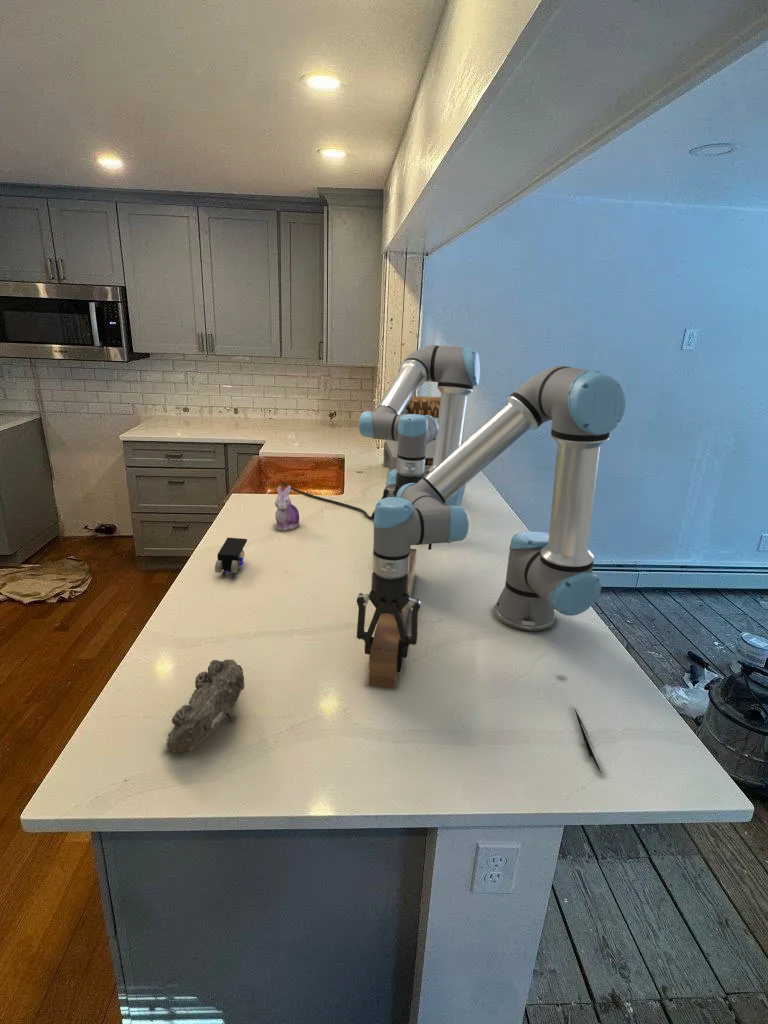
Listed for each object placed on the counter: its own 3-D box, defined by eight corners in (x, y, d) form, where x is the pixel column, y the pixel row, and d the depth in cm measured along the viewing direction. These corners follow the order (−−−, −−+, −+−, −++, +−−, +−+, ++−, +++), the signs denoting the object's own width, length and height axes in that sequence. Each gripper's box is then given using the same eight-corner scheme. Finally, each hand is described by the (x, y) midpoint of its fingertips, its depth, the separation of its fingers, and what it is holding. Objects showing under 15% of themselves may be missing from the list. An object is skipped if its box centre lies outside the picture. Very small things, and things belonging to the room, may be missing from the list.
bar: (396, 573, 170) (397, 547, 167) (414, 575, 169) (416, 548, 166) (368, 685, 119) (370, 649, 116) (394, 688, 119) (396, 652, 116)
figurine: (278, 533, 195) (277, 491, 190) (270, 523, 204) (269, 483, 199) (304, 529, 199) (304, 488, 194) (295, 519, 208) (294, 480, 203)
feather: (561, 682, 125) (567, 675, 124) (600, 777, 98) (608, 769, 98) (555, 678, 125) (561, 671, 124) (592, 772, 98) (600, 765, 98)
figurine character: (238, 584, 162) (249, 557, 175) (236, 562, 158) (247, 536, 172) (215, 584, 161) (227, 556, 175) (212, 561, 158) (225, 535, 171)
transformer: (382, 463, 289) (386, 382, 275) (445, 464, 293) (451, 384, 279) (390, 482, 257) (394, 392, 243) (460, 483, 261) (468, 394, 247)
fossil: (192, 660, 117) (244, 628, 112) (224, 691, 120) (276, 661, 115) (142, 746, 98) (202, 712, 93) (182, 779, 101) (242, 748, 96)
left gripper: (362, 473, 150) (359, 546, 157) (456, 480, 147) (450, 554, 155) (366, 465, 157) (364, 536, 164) (456, 472, 154) (450, 544, 162)
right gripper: (342, 575, 114) (340, 672, 122) (434, 584, 112) (426, 682, 120) (349, 560, 121) (347, 653, 129) (436, 568, 119) (428, 662, 127)
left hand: (405, 545), depth 160 cm, fingers open, 13 cm apart
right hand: (385, 667), depth 125 cm, fingers closed on bar, 5 cm apart
